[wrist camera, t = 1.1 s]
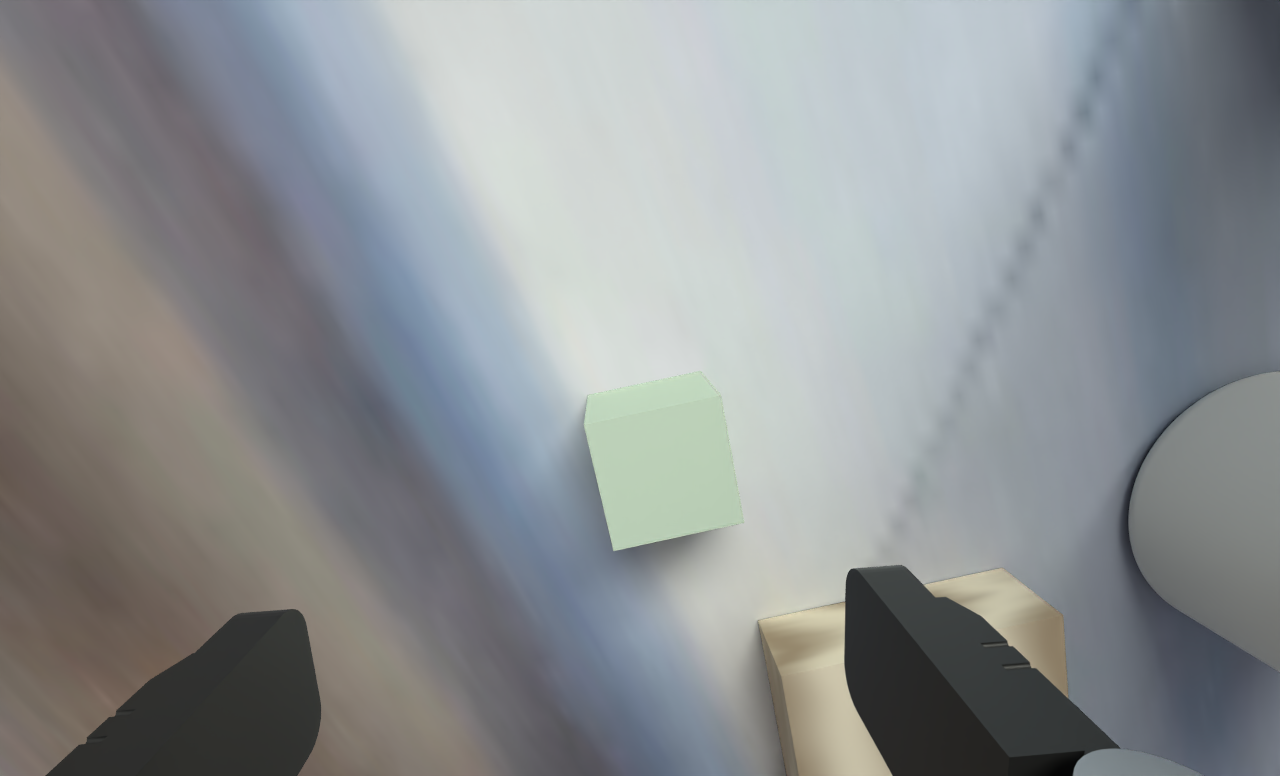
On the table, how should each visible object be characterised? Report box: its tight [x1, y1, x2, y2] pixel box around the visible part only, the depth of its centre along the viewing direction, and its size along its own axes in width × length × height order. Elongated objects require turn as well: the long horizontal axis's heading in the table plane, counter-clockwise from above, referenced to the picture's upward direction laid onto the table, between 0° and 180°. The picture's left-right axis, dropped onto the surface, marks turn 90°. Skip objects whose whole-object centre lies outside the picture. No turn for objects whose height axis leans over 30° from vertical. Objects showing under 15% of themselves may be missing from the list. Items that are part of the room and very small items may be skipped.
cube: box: [584, 371, 744, 551], centre depth 25 cm, size 5×5×5 cm
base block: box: [758, 568, 1068, 776], centre depth 29 cm, size 12×16×4 cm
